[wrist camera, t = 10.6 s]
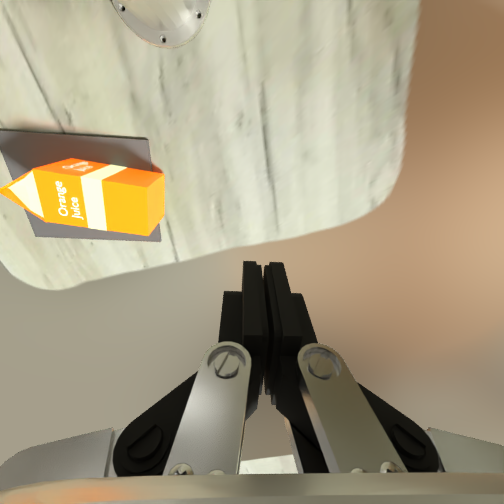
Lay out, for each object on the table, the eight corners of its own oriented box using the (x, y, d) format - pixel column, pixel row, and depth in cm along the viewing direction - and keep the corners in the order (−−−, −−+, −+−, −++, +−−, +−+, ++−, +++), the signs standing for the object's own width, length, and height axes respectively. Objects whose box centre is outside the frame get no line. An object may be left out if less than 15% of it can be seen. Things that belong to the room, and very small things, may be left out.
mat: (-4, 129, 38) (-8, 130, 38) (148, 139, 39) (146, 140, 39) (38, 235, 47) (35, 236, 46) (161, 240, 48) (160, 241, 48)
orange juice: (164, 173, 41) (35, 151, 39) (146, 186, 34) (-16, 160, 31) (164, 216, 45) (46, 198, 43) (148, 237, 38) (3, 217, 35)
